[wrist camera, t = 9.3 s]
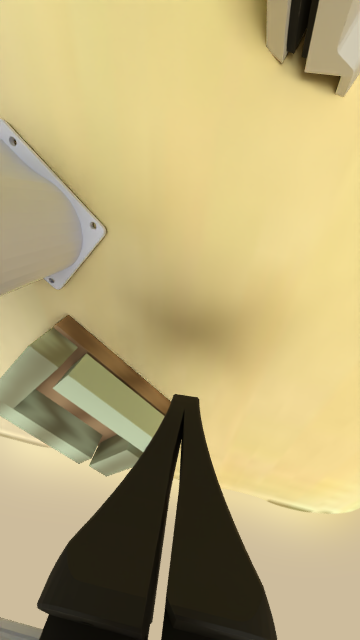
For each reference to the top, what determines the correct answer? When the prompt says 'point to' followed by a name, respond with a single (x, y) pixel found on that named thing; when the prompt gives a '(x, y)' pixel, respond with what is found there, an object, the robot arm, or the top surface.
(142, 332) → the top surface
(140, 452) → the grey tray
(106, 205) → the top surface
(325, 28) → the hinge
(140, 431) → the hinged leg
